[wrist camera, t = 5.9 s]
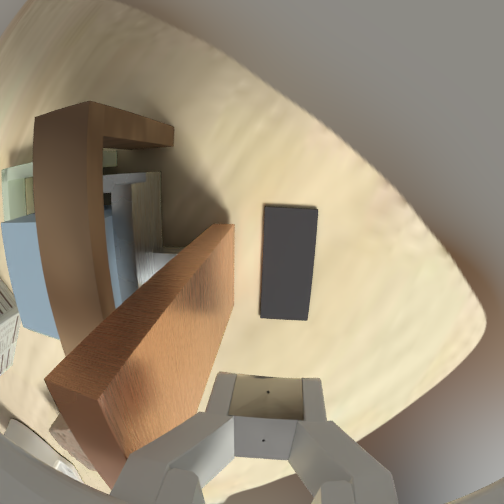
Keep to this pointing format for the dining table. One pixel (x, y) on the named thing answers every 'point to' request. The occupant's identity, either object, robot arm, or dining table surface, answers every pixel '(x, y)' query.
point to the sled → (147, 332)
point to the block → (41, 271)
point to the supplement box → (8, 327)
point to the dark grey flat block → (288, 262)
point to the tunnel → (80, 207)
